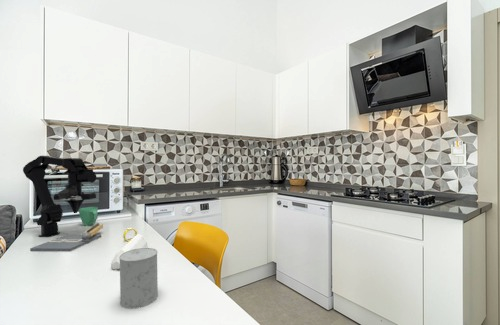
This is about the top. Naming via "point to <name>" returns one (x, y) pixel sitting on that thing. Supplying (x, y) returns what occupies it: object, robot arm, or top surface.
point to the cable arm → (92, 231)
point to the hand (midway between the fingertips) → (75, 213)
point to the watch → (129, 230)
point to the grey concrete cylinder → (138, 277)
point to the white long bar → (132, 244)
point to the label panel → (65, 243)
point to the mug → (88, 215)
